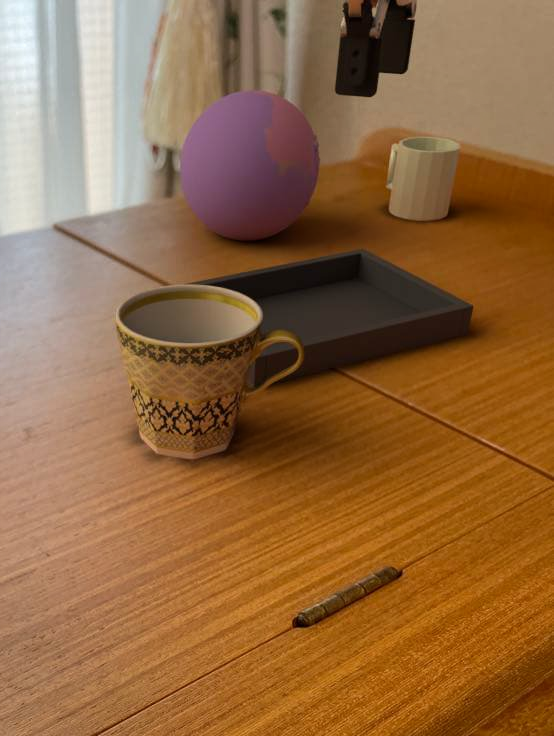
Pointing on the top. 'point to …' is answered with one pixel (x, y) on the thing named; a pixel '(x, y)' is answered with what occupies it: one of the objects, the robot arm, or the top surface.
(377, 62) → the robot arm
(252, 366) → the dark grey tray
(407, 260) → the top surface
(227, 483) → the top surface
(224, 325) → the ceramic cup
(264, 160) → the decorative ball
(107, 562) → the top surface
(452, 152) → the mug
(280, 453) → the top surface
